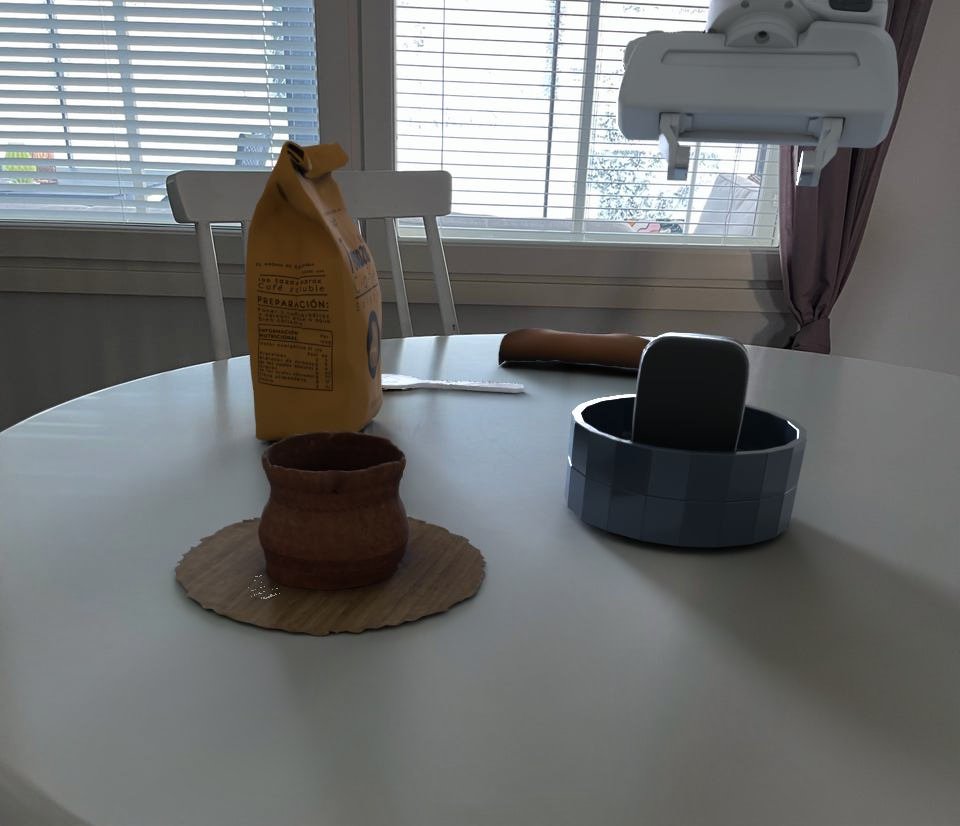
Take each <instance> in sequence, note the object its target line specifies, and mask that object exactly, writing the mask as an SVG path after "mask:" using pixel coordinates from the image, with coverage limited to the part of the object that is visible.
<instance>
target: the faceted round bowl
mask: <svg viewBox="0 0 960 826" xmlns="http://www.w3.org/2000/svg"><path fill="white" fill-rule="evenodd" d="M634 402H635V394H623V395H622V394H621V395H615V396H609V397H601V398H596V399H593V400H589V401H587V402H584V403H581V404H579V405H577V407H576V408H575V409H574V410H573V411H572V412H571V417H570V429H569V440H568V441H569V442H568V454H567V465H566V476H565V489H564V497H565V502H566V506H567V508H568V509H569V510H570V511H571V512H572V513H573V514H574V515H576V516H577V517H578V518H579V519H581V520H582V521H583V522H586V523H588V524H590V525H592V526H595V527H597V528H598V529H601V530H603V531H605V532H609V533H612V534H615V535H619V536H622V537H627V538H630V539H633V540H638V541H641V542H647V543H651V544H656V545H663V546H671V547H678V548H679V547H681V548H726V547H736V546H737V547H738V546H747V545H753V544H757V543H761V542H764V541H768V540H770V539H773V538H777V537H778V536H779V535H780V534H782V533H783V532H784V531H786V530H787V529H788V528H790V523H791V519H792V514H793V510H794V509H793V508H794V504H795V499H796V494H797V489H798V484H799V480H800V475H801V469H802V465H803V460H804V455H805V450H806V445H807V440H808V439H807V438H808V430H807V429H806V428H805V427H803V426H802V424H800V423H798V421H796V420H795V419H792V418H790V417H788V416H785V415H783V414H781V413H778V412H776V411H774V410H773V411H772V410H769V409H765V408H762V407H759V406H755V405H751V404H747V403H745V409H744V414H743V420H742V425H741V429H740V434H739V439H738V443H737V448H736V452H709V451H689V450H680V449H672V448H664V447H656V446H651V445H646V444H641V443H637V442H632V427H633V412H634Z"/></svg>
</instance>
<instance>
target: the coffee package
mask: <svg viewBox="0 0 960 826" xmlns="http://www.w3.org/2000/svg"><path fill="white" fill-rule="evenodd" d="M281 146H282V147H281V149H280V152H279V156H278V158H277V160H276V162H275V165H274V167H273V168H272V170H271V173H270V174H269V176H268V179H267V181H266V183H265V187H264V189H263V192H262V194H261V196H260V197H259V199H258V201H257V202H256V204H255V208H254V211H253V214H252V217H251V220H250V224H249V226H248V230H247V231H248V232H247V240H246V241H247V242H246V254H245V255H246V256H245V330H246V337H247V346H248V356H249V367H250V376H251V384H252V394H253V408H254V421H255V422H254V423H255V438H256V439H257V440H259V441H263V442H279V441H281V440H282V439H283V438H284V437H286V436H288V435H291V434H305V433H307V432H310V431H329V432H331V431H351V432H357V433H359V431H361V430H362V429H364V428H365V427H367V426H369V424H370V423H371V422H372V421H373V419H374V418H376V417H377V415H378V414H379V412H380V410H381V408H382V406H383V401H384V395H383V389H382V378H381V374H382V323H383V322H382V320H383V319H382V318H383V317H382V314H383V311H382V310H383V308H382V291H381V286H380V282H379V277H378V273H377V269H376V265H375V261H374V257H373V255H372V254H371V251H370V249H369V247H368V246H367V244H366V241H365V239H364V237H363V236H362V234H361V232H360V231H359V229H358V227H357V225H356V224H355V222H354V221H353V220H352V218H351V217H350V215H349V214H348V209H347V206H346V202H345V199H344V196H343V193H342V190H341V187H340V185H339V184H340V183H338V181H337V180H336V179H335V178H334V176H333V171H335V170H338V169H341V168H343V167H345V166H346V165H347V164H348V163H349V160H350V157H349V155H348V154H347V152H346V151H345V149H344V148H343V147H342V145H341V144H340V143H339V142H338V141H335V142H331V143H320V144H314V145H313V144H312V145H307V146H302V145H300V144H298V143H296V142H294V141H292V140H286V141H285V142H284V143H283V144H282V145H281Z"/></svg>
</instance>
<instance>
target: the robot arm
mask: <svg viewBox="0 0 960 826" xmlns="http://www.w3.org/2000/svg"><path fill="white" fill-rule="evenodd" d="M888 10H889V0H709V5H708V11H707V12H708V13H707V16H706V17H707V18H706V23H705V29H704V30H680V31H679V30H678V31H664V30H659V29H657V30H650V31H647V32H646V34H645V35H644V36H639V37H637V38H634V39H632V40H630V41H628V43H627V44H626V46H625V49H624V52H623V56H622V57H623V58H622V62H621V68H622V71H623V74H622V77H621V81H620V84H619V87H618V91H617V96H616V127H617V130H618V131H619V133H620V134H621V135H622V136H623V138H624V139H626V140H629V141H652V142H653V141H654V142H658V150H659V151H660V153H661V155H662V156H663V158H664V159H665V161H666V163H667V172H666V175H667V176H666V181H676V182H677V181H678V182H679V181H680V182H687V181H688V173H689V168H690V159H691V158H690V157H691V146H690V145H688V146H687V145H680V143H679V142H681V143H682V142H683V143H684V142H685V143H711V144H713V143H714V144H736V145H737V144H738V145H739V144H740V145H766V146H767V145H769V146H770V145H771V146H799V147H816V148H815V149H814V150H804V149H803V150H802V152H801V157H800V162H799V166H798V170H797V171H798V172H797V181H796V186H798V187H813V188H814V187H816V188H817V187H818V185H819V183H820V178H821V173H822V170H823V169H824V167H825V166H827V165H828V163H829V162H830V161H831V160H832V159H833V158H834V157H835V156H836V154H837V151H838V148H853V149H854V148H856V149H857V148H858V149H873V148H875V147H877V146H878V145H880V144H881V143H882V142H883V141H884V140H886V138H887V136H888V134H889V132H890V129H891V126H892V123H893V120H894V116H895V113H896V109H897V106H898V105H897V104H898V99H899V98H898V97H899V67H898V57H897V56H898V55H897V50H896V44H895V42H894V40H893V38H892V36H891V35H890V34H889V33H888V32H887V31H886V30H885V29H886V23H887V17H888Z"/></svg>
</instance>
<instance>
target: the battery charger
mask: <svg viewBox="0 0 960 826" xmlns="http://www.w3.org/2000/svg"><path fill="white" fill-rule="evenodd" d="M750 370H751V361H750V357H749V353H748V350H747V348H746V347H745V345H744V343H743V342H741V341H739V340H738V339H736V338H732V337H728V336H722V335H721V336H719V335H711V334H702V333H687V332H665V333H662V334H660V335H658V336H656V337H654V338H652V339H651V340H650V343H649V344H648V345H647V346H646V348H645V349H644V351H643V353H642V356H641V360H640V365H639V369H638V371H637V379H636V386H635V394H634V395H635V402H634V412H633V427H632V442H637V443H641V444H646V445H651V446H656V447H664V448H672V449H680V450H689V451H709V452H736V448H737V443H738V439H739V434H740V429H741V425H742V420H743V414H744V409H745V404H747V395H748V389H749V382H750V375H751V374H750V373H751V371H750Z"/></svg>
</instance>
